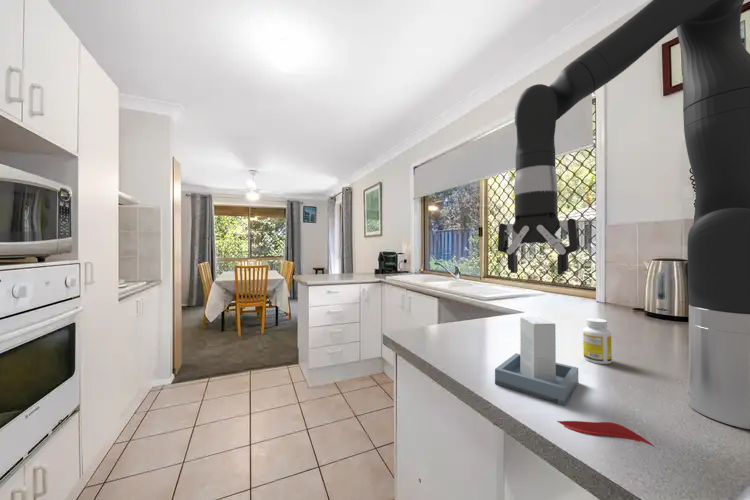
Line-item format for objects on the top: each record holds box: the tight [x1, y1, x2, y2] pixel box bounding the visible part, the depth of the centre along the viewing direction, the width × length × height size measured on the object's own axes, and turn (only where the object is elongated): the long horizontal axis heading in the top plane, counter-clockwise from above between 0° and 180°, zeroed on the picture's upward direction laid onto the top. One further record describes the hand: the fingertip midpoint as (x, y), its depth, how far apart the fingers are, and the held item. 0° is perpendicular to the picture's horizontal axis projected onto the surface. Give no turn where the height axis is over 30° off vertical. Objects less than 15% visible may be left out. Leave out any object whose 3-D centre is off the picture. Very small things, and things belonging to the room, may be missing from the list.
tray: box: [494, 353, 579, 407], centre depth 59 cm, size 12×12×3 cm
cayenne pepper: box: [556, 420, 656, 448], centre depth 43 cm, size 12×5×2 cm, turn 51°
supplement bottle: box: [582, 317, 613, 365], centre depth 71 cm, size 5×5×10 cm
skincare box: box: [519, 316, 557, 384], centre depth 59 cm, size 6×4×12 cm
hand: (536, 273), depth 59 cm, fingers open, 8 cm apart
